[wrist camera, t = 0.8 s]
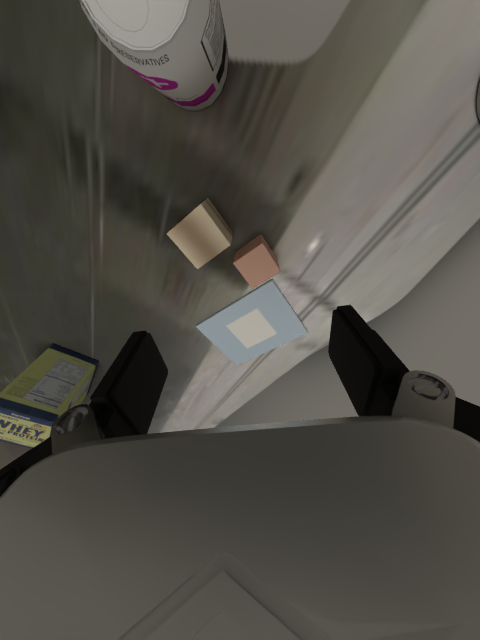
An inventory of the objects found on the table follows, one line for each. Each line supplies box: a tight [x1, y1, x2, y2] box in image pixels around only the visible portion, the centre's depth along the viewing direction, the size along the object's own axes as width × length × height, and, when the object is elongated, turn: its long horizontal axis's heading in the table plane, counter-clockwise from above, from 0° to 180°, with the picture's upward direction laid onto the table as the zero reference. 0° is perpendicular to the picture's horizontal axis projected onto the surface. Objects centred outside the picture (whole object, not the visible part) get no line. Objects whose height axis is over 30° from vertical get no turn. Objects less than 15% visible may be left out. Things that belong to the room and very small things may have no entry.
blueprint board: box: [196, 279, 308, 366], centre depth 44 cm, size 18×14×1 cm
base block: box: [167, 198, 233, 269], centre depth 31 cm, size 6×6×6 cm
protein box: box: [0, 344, 99, 448], centre depth 48 cm, size 10×16×16 cm
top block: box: [233, 234, 280, 289], centre depth 34 cm, size 5×5×5 cm
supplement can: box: [80, 0, 229, 111], centre depth 17 cm, size 8×8×15 cm
